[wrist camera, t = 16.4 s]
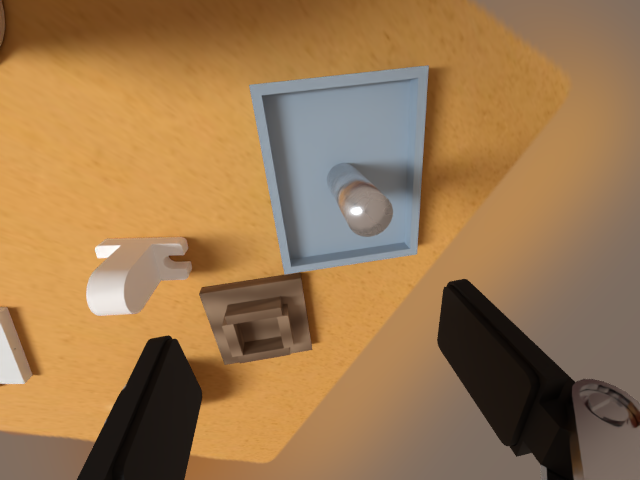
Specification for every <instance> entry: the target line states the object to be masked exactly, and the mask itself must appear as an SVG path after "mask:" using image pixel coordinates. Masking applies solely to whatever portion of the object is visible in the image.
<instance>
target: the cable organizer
mask: <svg viewBox="0 0 640 480" xmlns="http://www.w3.org/2000/svg"><path fill="white" fill-rule="evenodd" d="M187 250H188V244H187V240H186V239H185V238H183V237H158V238H115V239H105V240H104V241H103V242H102V243H100V244H99V245H98V246H97V247H96V248H95V252H96V255H97V258H107V259H106V260H105V261H104V262H103V263H102V264H100V265H99V266H98V267H97V268H96V269H95V270H94V272H93V273H92V274H91V276H90V278H89V281H88V285H87V292H86V295H87V302H88V306H89V308H90V310H91V311H92V312H93V313H94V314H96V315H98V316H101V315H120V314H136V313H139V312H140V311H141V310H142V309H143V307H144V306H145V304H146V303H147V301H148V300H149V298H150V297H151V295H152V294H153V292H154V290H155V289H156V287H157V286H158V284H159V283H160V281H161V280H184V279H187V278H188V276H189V274H190V272H191V270H192V265H191V261H184V262H175V261H173V260H171V259H170V258H169V256H171V255H185V253H186V251H187Z"/></svg>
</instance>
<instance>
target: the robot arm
mask: <svg viewBox="0 0 640 480" xmlns="http://www.w3.org/2000/svg"><path fill="white" fill-rule="evenodd" d="M4 31H5V17H4V9H3V5H2V0H0V46H1V44H2V42H3V36H4ZM437 341H438V346H439V348H440V350H441V352H442V353H443V355H444V356H445V358H446V359H447V361H448V362H449V364H450V365H451V366H452V368H453V370H454V371H455V373H456V374H457V376H458V377H459V379H460V380H461V382H462V383H463V385H464V386H465V388H466V389H467V391H468V392H469V394H470V395H471V397H472V398H473V400H474V401H475V403H476V404H477V406H478V407H479V409H480V410H481V412H482V413H483V415H484V416H485V418H486V419H487V421H488V423H489V424H490V426H491V427H492V429H493V430H494V432H495V433H496V435H497V436H498V438H499V439H500V440H501V442H502V443H503V444H504V445H506V446H510V448H511V449H512V451H513V452H514V454H515V455H516V456H521V455H525V454H529V453H533V455H534V456H535V457H536V459H537V460H538V461H539V463H540V464H541V480H640V404H639V402H638V401H637V400H636V399H634V398H633V397H632V396H630V395H629V394H628V393H627V392H625V391H623V390H621V389H619V388H618V387H616V386H614V385H611V384H609V383H606V382H604V381H599V380H595V379H582V380H579V381H577V382H575V381H573V380H572V379H571V378H570V377H569V376H568V375H567V374H566V373H565V372H564V371H563V370H562V369H561V368H560V367H559V366H558V365H557V364H556V363H555V362H554V361H553V360H551V359H550V358H549V357H548V356H547V355H546V354H545V353H544V352H543V351H542V350H541V349H540V348H539V347H538V346H537V345H535V343H534V342H533V341H531V340H530V339H529V338H528V337H527V336H526V335H525V334H524V333H523V332H522V331H521V330H520V329H519V328H518V327H517V326H516V325H515V324H514V323H512V322H511V321H510V320H509V319H508V318H507V317H506V316H505V315H504V314H503V313H502V312H501V311H500V310H499V309H498V308H497V307H495V305H494V304H492V303H491V302H490V301H489V300H488V299H487V298H486V297H485V296H484V295H483V294H482V293H481V292H480V291H479V290H478V289H477V288H476V287H475V286H473V284H471V283H470V282H469V281H468V280H466V279H462V280H456V281H452V282H449V283H448V284H447V287H444V290H443V297H442V305H441V314H440V322H439V331H438V339H437ZM201 401H202V391H201V388H200V386H199V384H198V382H197V380H196V378H195V376H194V373H193V371H192V369H191V367H190V365H189V363H188V361H187V359H186V357H185V355H184V353H183V351H182V349H181V346H180V344H179V342H178V341H177V339H172V338H171V336H163V337H158V338H152V339H150V340H148V342H147V343H146V345H145V347H144V350H143V352H142V354H141V356H140V358H139V360H138V362H137V364H136V366H135V368H134V370H133V372H132V374H131V376H130V378H129V380H128V382H127V384H126V386H125V388H124V389H123V390H122V391H121V393H120V394H119V396H118V398H117V400H116V402H115V404H114V406H113V408H112V410H111V412H110V414H109V416H108V418H107V420H106V422H105V424H104V426H103V428H102V430H101V432H100V434H99V436H98V438H97V440H96V442H95V444H94V446H93V448H92V451H91V452H90V454H89V456H88V458H87V460H86V462H85V464H84V466H83V469H82V470H81V472H80V475H79V476H78V479H77V480H184V478H185V474H186V469H187V465H188V460H189V456H190V451H191V447H192V442H193V437H194V433H195V428H196V424H197V419H198V415H199V410H200V405H201Z"/></svg>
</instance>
